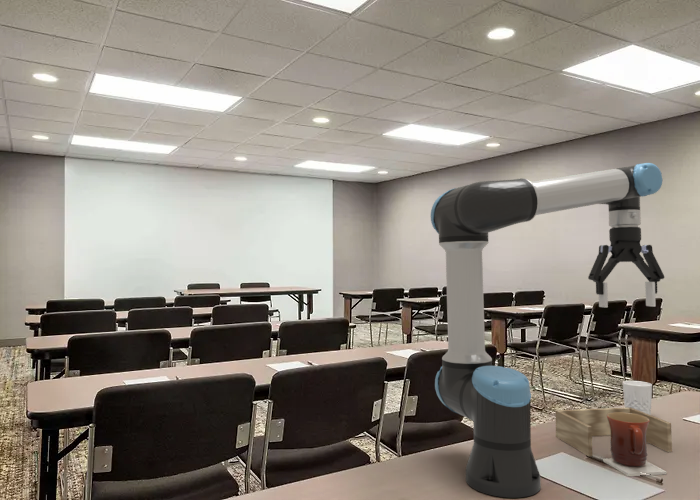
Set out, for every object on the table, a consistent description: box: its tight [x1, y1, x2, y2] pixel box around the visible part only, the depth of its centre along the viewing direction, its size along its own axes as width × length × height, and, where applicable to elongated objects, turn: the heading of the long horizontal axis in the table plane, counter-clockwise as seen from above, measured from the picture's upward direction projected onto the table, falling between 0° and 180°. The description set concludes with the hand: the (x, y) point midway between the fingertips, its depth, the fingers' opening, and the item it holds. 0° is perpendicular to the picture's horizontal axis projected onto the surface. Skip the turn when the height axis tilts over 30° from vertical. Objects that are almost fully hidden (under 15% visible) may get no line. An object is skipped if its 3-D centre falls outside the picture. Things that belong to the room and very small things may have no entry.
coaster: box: [602, 457, 668, 477], centre depth 118 cm, size 9×9×1 cm
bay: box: [555, 407, 673, 457], centre depth 134 cm, size 22×15×7 cm
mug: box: [607, 412, 650, 467], centre depth 118 cm, size 12×9×10 cm
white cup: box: [622, 380, 653, 415], centre depth 159 cm, size 8×8×10 cm
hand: (627, 306), depth 138 cm, fingers open, 13 cm apart
